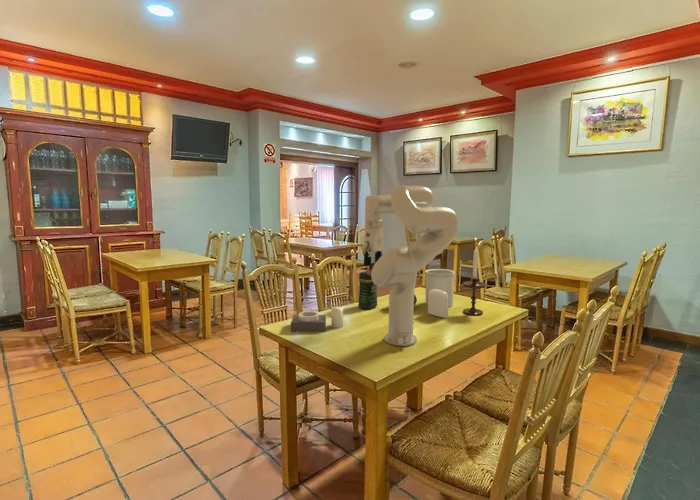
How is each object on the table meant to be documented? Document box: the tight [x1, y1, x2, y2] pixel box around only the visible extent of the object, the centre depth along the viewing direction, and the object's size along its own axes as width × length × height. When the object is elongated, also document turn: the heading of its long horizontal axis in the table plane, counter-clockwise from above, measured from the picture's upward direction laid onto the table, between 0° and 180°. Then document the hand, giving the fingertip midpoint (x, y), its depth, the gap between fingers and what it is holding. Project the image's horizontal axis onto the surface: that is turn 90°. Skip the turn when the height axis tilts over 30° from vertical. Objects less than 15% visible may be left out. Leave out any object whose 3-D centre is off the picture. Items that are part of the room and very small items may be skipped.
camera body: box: [290, 310, 327, 333], centre depth 166 cm, size 10×14×6 cm
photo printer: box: [427, 289, 449, 319], centre depth 183 cm, size 10×4×12 cm, turn 39°
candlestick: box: [461, 241, 487, 317], centre depth 186 cm, size 11×11×35 cm
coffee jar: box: [358, 269, 378, 310], centre depth 196 cm, size 10×8×19 cm
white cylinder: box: [330, 306, 344, 329], centre depth 168 cm, size 5×5×8 cm
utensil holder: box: [424, 268, 455, 308], centre depth 202 cm, size 15×15×18 cm
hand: (373, 264), depth 169 cm, fingers open, 9 cm apart
